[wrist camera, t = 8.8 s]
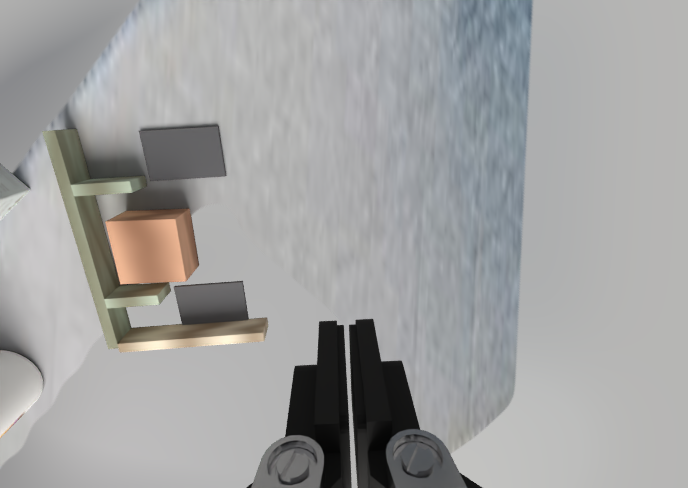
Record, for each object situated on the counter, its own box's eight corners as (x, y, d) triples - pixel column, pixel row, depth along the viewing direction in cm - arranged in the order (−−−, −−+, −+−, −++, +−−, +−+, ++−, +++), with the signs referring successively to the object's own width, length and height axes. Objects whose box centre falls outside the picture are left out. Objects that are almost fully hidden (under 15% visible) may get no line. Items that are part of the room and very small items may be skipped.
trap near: (218, 126, 35) (217, 126, 35) (226, 175, 37) (225, 176, 36) (140, 130, 35) (138, 131, 35) (151, 180, 36) (150, 181, 36)
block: (190, 208, 38) (175, 219, 34) (199, 264, 40) (186, 281, 36) (127, 210, 37) (105, 221, 34) (139, 267, 39) (120, 284, 36)
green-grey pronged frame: (239, 119, 35) (232, 120, 32) (268, 325, 42) (264, 341, 39) (65, 129, 34) (42, 131, 32) (124, 336, 42) (109, 353, 39)
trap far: (242, 281, 40) (242, 282, 40) (248, 318, 42) (248, 320, 41) (174, 285, 40) (173, 287, 40) (183, 323, 42) (182, 325, 41)
